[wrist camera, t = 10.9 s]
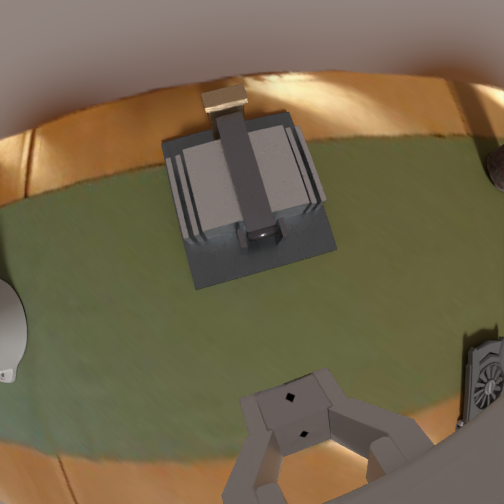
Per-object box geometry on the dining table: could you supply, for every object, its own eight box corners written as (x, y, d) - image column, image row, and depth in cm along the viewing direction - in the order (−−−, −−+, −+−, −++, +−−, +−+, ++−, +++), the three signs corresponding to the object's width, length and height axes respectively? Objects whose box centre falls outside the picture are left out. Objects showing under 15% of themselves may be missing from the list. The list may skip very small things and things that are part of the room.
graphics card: (512, 422, 34) (464, 449, 34) (499, 418, 38) (452, 442, 37) (519, 331, 37) (472, 349, 36) (505, 330, 40) (457, 346, 40)
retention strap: (278, 235, 34) (279, 234, 33) (249, 243, 34) (249, 242, 33) (241, 115, 35) (241, 110, 34) (214, 121, 35) (214, 116, 34)
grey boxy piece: (196, 289, 39) (181, 288, 30) (162, 146, 42) (143, 110, 32) (335, 250, 40) (361, 237, 31) (287, 115, 43) (297, 74, 33)
